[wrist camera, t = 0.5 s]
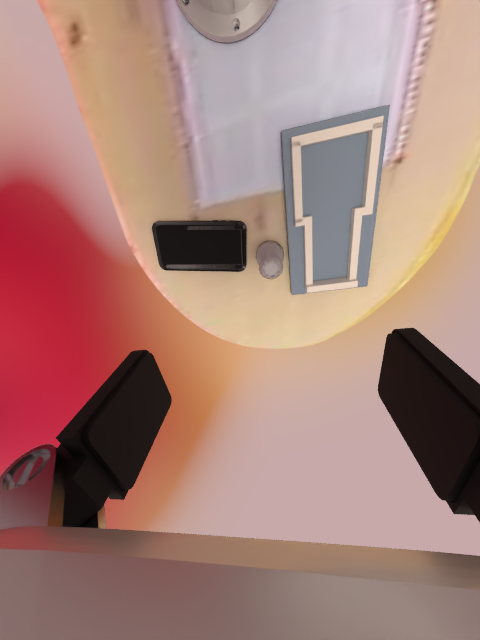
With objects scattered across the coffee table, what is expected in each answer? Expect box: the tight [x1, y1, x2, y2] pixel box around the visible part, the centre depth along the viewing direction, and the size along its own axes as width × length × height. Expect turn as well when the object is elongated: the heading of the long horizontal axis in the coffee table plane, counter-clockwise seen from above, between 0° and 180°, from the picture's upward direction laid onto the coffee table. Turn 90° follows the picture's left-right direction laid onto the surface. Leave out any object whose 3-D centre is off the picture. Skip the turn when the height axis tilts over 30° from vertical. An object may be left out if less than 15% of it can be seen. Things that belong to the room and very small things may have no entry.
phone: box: [152, 220, 246, 272], centre depth 36 cm, size 8×1×15 cm
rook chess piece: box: [256, 241, 284, 279], centre depth 32 cm, size 4×4×8 cm
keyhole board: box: [281, 105, 390, 295], centre depth 31 cm, size 22×12×4 cm, turn 10°
